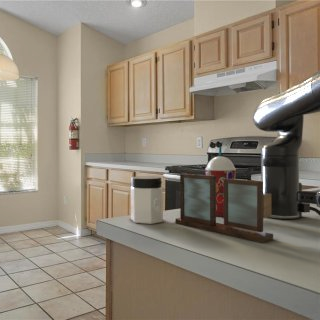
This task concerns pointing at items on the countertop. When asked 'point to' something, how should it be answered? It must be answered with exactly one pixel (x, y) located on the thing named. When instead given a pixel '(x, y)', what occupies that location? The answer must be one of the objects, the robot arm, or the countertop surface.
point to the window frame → (208, 208)
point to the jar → (146, 199)
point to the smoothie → (220, 178)
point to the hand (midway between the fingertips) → (297, 196)
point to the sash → (245, 204)
